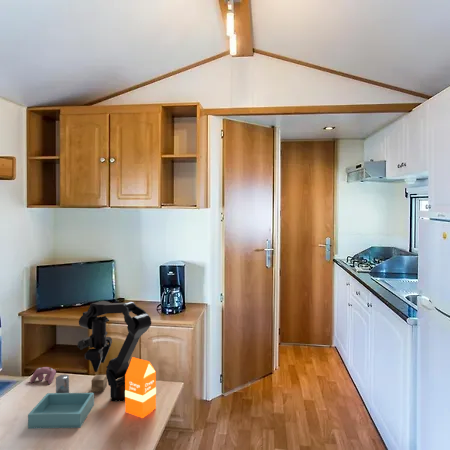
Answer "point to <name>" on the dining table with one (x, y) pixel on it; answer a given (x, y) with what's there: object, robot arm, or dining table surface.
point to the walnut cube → (99, 383)
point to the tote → (61, 410)
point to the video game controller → (39, 374)
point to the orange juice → (140, 388)
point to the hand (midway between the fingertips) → (99, 367)
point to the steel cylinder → (62, 384)
